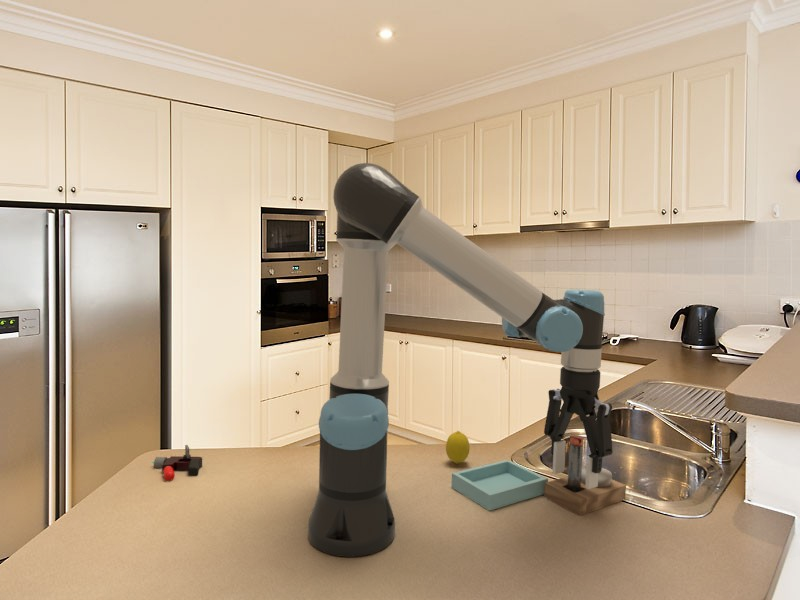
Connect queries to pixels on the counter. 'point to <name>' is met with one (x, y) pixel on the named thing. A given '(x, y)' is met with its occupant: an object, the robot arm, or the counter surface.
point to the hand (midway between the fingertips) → (574, 479)
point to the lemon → (457, 447)
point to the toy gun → (178, 464)
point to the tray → (498, 484)
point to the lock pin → (575, 463)
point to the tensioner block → (586, 493)
